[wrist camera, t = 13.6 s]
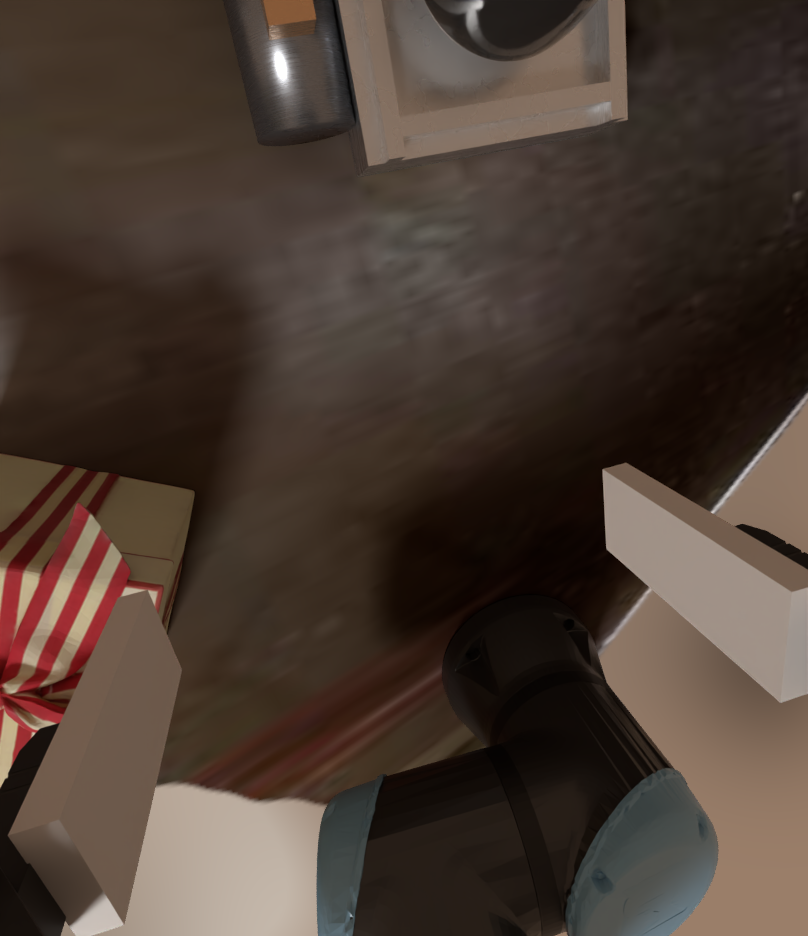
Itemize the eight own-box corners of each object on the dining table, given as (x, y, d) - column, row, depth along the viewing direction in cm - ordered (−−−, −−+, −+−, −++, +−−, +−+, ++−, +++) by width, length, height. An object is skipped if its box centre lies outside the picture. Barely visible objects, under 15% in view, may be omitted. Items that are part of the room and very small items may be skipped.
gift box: (204, 437, 42) (161, 545, 26) (182, 643, 48) (136, 834, 32) (-63, 401, 38) (-308, 506, 22) (-53, 634, 43) (-242, 850, 27)
